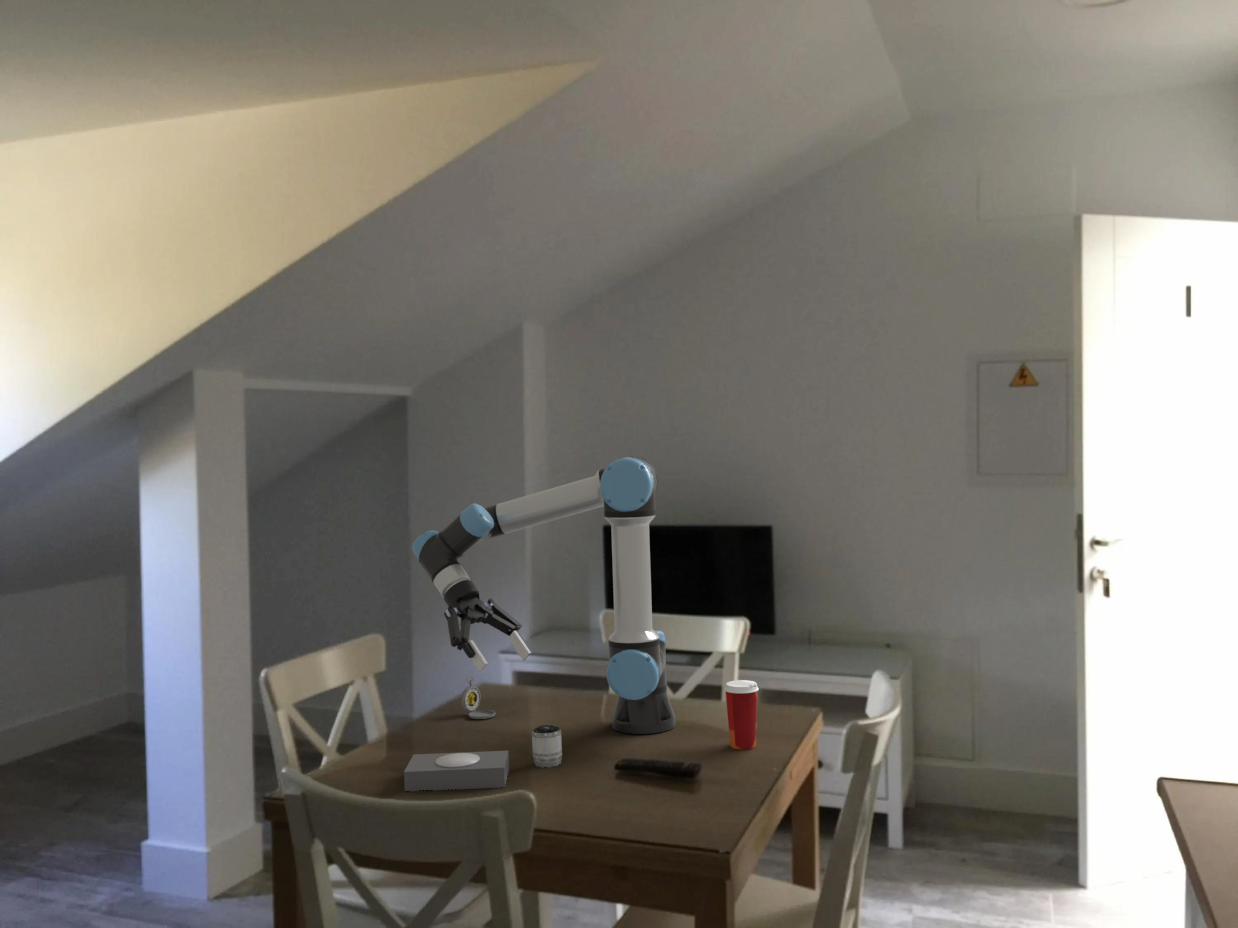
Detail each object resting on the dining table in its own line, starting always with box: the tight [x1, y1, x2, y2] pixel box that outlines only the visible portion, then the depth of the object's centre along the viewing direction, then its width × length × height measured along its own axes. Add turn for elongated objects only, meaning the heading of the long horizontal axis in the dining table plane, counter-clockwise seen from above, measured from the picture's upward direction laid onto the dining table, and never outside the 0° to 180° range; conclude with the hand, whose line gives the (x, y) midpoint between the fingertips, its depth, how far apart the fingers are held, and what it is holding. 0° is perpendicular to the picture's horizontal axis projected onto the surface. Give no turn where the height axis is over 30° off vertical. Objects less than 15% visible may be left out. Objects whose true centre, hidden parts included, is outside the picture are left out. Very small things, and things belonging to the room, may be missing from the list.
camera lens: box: [531, 724, 563, 768], centre depth 234 cm, size 6×6×8 cm
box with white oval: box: [403, 750, 510, 792], centre depth 224 cm, size 20×12×4 cm, turn 92°
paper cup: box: [723, 679, 760, 751], centre depth 242 cm, size 8×8×14 cm
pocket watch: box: [460, 675, 496, 720], centre depth 276 cm, size 8×8×10 cm
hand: (505, 662), depth 240 cm, fingers open, 13 cm apart
